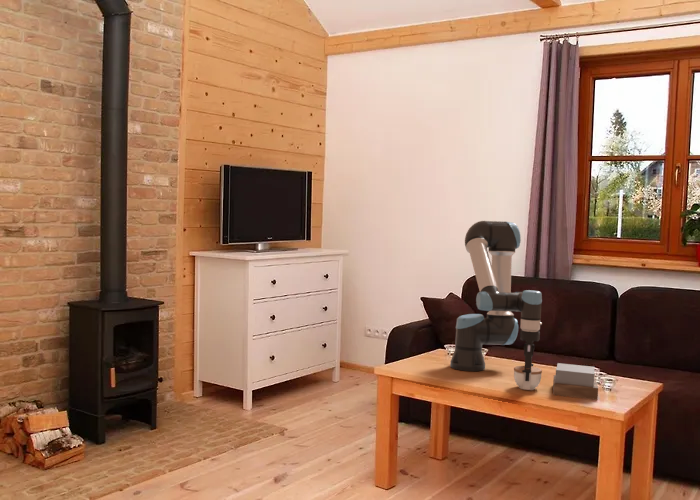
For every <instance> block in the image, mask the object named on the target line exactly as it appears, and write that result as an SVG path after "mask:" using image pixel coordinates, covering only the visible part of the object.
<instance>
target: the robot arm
mask: <svg viewBox="0 0 700 500" xmlns="http://www.w3.org/2000/svg"><path fill="white" fill-rule="evenodd" d="M521 237H522V236H521V232H520V228H519V226H518V225H517V224H516V223H515V222H510V221H496V220H492V221H490V220H480V221H477V222H474V224H472V225H471V226H470V227H469V228H468V229H467V231H466V234H465V237H464V246H465V250H466V252H467V253H469V256H470V260H471V263H472V267H473V270H474V275H475V279H476V282H477V286H478V289H479V292H477V294H476V298H475V302H476V303H475V305H476V307H477V310H479V311H486V312H487V313H486V317H485V316H484V315H483V314H481V313H468V314H463V315H459V316H458V317H457V318H456V324H455V341H454V342H455V346H454V347H455V348H454V351H453V353H452V357H451V359H450V362H449V365H450V368H452V369H454V370H458V371H463V372H465V371H466V372H482V371H484V370H485V369H486V361H485V359H484V355H483V354H484V353H483V345H494V346H495V345H500V346H505V345H509V346H510V345H513V344H514V343H515V341H516V339H517V337H518V333H519V339H520V340H521V341H525V343H524V344H523V350H524V351H523V356H524V366H525V369H524V370H522V372H524V381H523V389H522V390H524V389H529V390H528V391H531V390H530V385H531V366H532V367H534V363H533V356H534V351H535V344H534V342H539V341H540V337H541V336H540V335H541V332H540V330H541V326H542V325H543V322H541V318H542V317H541V316H542V302H543V296H542V295H543V294H542V292H541V291H539V290H532V289H531V290H530V289H528V290H527V289H526V290H523V291H515V292H512V291H511V290H512V288H511V287H512V257H513V255H515V253H516V249H519V247H520V246H521V241H522V239H521ZM490 255H491V259H490ZM513 312H520V323H519V322H518V319H517V318H515V317H514V316H515V314H514V313H513ZM518 323H519V324H520V327H519V324H518ZM519 329H520V330H519ZM519 331H520V332H519ZM526 368H528V369H526Z"/></svg>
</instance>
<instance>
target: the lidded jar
mask: <svg viewBox="0 0 700 500" xmlns="http://www.w3.org/2000/svg"><path fill="white" fill-rule="evenodd" d="M524 369H525V365H515V366H514V367H513V377H514V382H515V384H516V385H517V387H518V389H521V390H525V391H533V390H535V389H536V388H538V387H539V385H540V384H541V379H542V373H543V370H542V369H541V368H539V367H536V366H531V385H530V390H529V389H523V381H524V372H522V370H524ZM526 369H528V368H526Z"/></svg>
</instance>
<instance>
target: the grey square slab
mask: <svg viewBox="0 0 700 500" xmlns="http://www.w3.org/2000/svg"><path fill="white" fill-rule="evenodd" d="M556 365H557V366H556V368H555V375H556V376H555V383H561V384H570V385H579V386H588V387H594V379H595V366H589V365H578V364H572V363H571V364H570V363H561V362H560V363H559V362H557V364H556Z"/></svg>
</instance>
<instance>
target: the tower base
mask: <svg viewBox="0 0 700 500" xmlns="http://www.w3.org/2000/svg"><path fill="white" fill-rule="evenodd" d="M555 376H556V374H554V375H553V381H552V382H553V383H552V387H553V389H552V393H553V394H552V395H553V396H557V395H561V396H560V397H567V396H569V397H568V398H578V399H589V400H597V401H598V399H599V385H598V382H597V380H596V378H594V387H588V386H579V385H570V384H561V383H555Z"/></svg>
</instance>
